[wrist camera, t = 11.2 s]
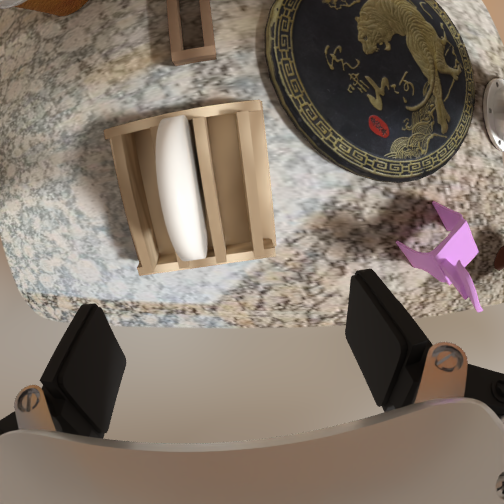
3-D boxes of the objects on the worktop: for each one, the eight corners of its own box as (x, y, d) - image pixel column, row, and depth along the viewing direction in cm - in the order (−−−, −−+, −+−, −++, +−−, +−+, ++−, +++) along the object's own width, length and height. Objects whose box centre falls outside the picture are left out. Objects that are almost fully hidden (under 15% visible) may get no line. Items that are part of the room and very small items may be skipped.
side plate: (174, 87, 17) (193, 264, 17) (197, 142, 29) (211, 255, 29) (148, 93, 17) (163, 268, 17) (180, 146, 29) (193, 257, 29)
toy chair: (452, 231, 36) (519, 279, 23) (415, 270, 38) (475, 332, 25) (432, 193, 33) (511, 236, 20) (391, 237, 35) (461, 299, 22)
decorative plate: (396, 231, 33) (203, 56, 23) (389, 226, 35) (204, 60, 24) (498, 92, 25) (365, -68, 15) (489, 91, 27) (359, -62, 16)
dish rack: (260, 101, 27) (267, 97, 22) (274, 241, 34) (283, 262, 29) (112, 129, 26) (92, 132, 22) (142, 261, 33) (131, 283, 29)
